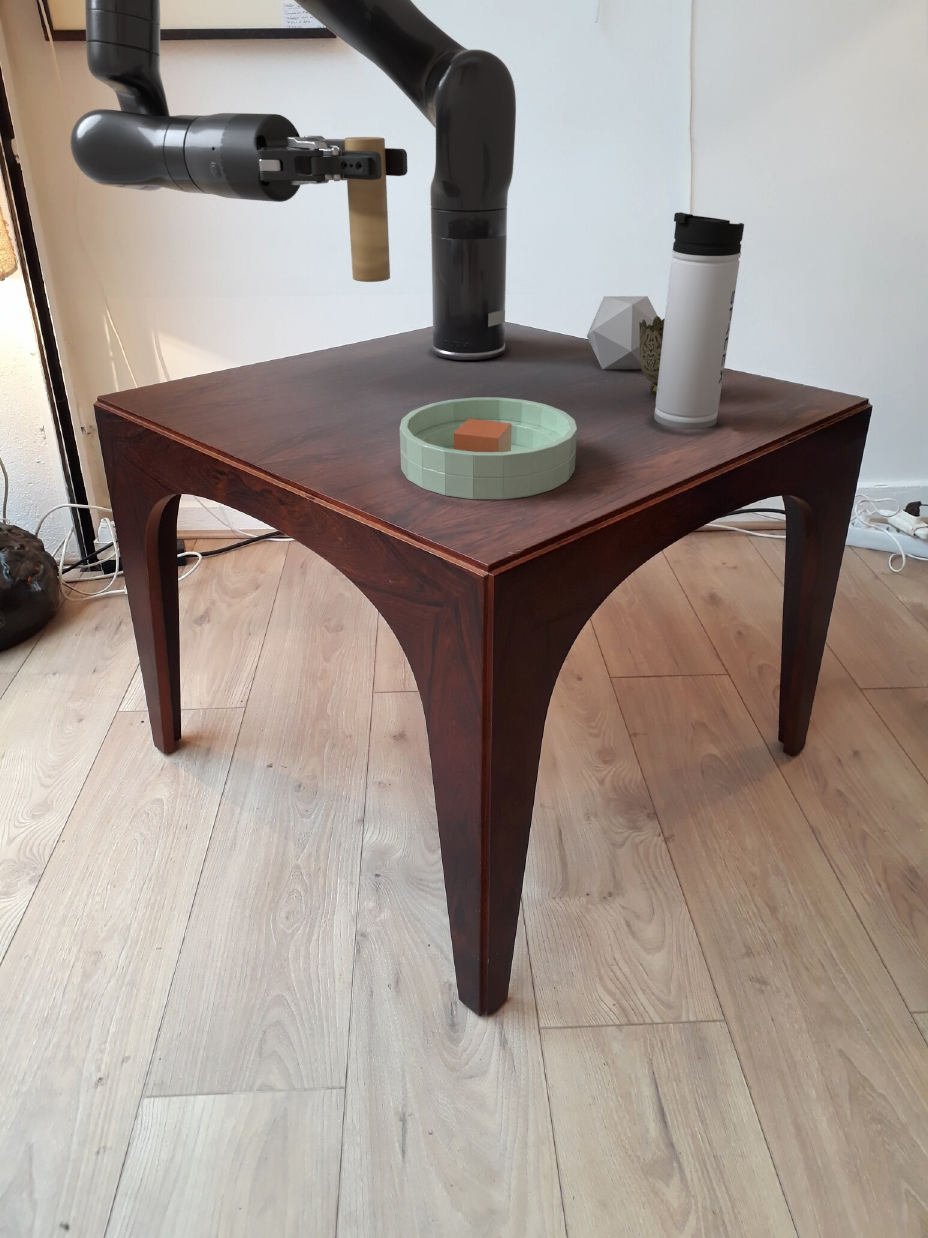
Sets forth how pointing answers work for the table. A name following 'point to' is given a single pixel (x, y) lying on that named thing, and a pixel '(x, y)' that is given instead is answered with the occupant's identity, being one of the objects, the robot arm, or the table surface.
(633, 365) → the die
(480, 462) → the bowl
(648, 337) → the cup
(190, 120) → the robot arm
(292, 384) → the table surface
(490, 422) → the block
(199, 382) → the table surface
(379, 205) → the wooden cylinder
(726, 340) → the travel mug
